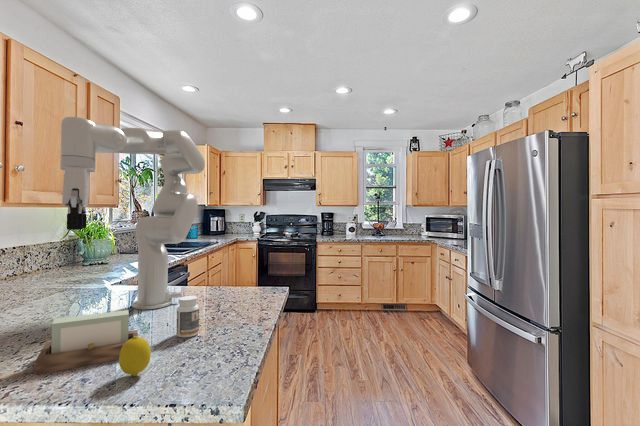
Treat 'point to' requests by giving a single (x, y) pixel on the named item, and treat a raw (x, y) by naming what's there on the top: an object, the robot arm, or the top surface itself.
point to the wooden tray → (78, 356)
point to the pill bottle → (187, 317)
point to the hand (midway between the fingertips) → (77, 228)
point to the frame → (89, 331)
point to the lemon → (134, 356)
